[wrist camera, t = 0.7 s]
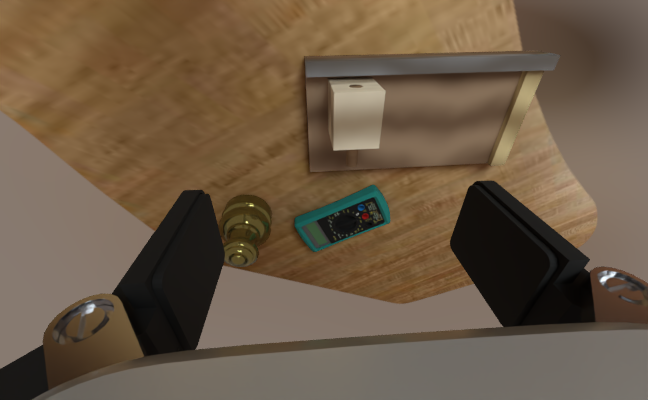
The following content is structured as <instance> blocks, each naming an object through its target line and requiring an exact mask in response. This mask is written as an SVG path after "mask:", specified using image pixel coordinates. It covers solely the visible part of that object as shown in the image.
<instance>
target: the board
mask: <svg viewBox="0 0 648 400" xmlns="http://www.w3.org/2000/svg"><path fill="white" fill-rule="evenodd" d="M304 57H305V78H306V100H307V121H308V143H309V164H310V172H323V171H342V170H362V169H382V168H402V167H421V166H441V165H461V164H481V163H488V164H489V165H490V166H497V165H504V164H505V162H506V159H507V157H508V155H509V152H510V150H511V148H512V145H513V143H514V141H515V138H516V136H517V134H518V131H519V129H520V127H521V124H522V122H523V120H524V117H525V115H526V113H527V110H528V108H529V105H530V103H531V101H532V98H533V96H534V94H535V91H536V89H537V87H538V84H539V82H540V80H541V77H542V75H543V72H544V70H554V69H555V66H556V64H557V62H558V60H559V57H560V55H557V54H552V53H546V52H542V51H506V52H465V53H424V54H384V55H343V56H304ZM363 77H372V78H373V79H374V80H375V81H376V82H377V83H378V84H379V85H380V86H381V87H382V88H383V89H384V90H385V91H386V92H385V101H384V109H383V118H382V127H381V135H380V144H379V148H377V149H358V162H357V166H355V167H348V166H347V165H346V150H334V151H333V147H332V143H331V139H330V135H329V131H328V79H330V78H363Z"/></svg>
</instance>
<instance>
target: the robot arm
mask: <svg viewBox="0 0 648 400" xmlns="http://www.w3.org/2000/svg"><path fill="white" fill-rule="evenodd" d="M450 246H451V249H452V251H453V252H454V254H455V255H456V257H457V258H458V260H459V261H460V263H461V264H462V266H463V267H464V269H465V270H466V272H467V273H468V275H469V276H470V278H471V279H472V281H473V282H474V284H475V285H476V287H477V288H478V290H479V291H480V293H481V294H482V296H483V297H484V299H485V301H486V302H487V303H488V305H489V306H490V308H491V310H492V311H493V313H494V314H495V316H496V317H497V319H498V320H499V322H500V323H501V324H502V326H503V327H498V328H484V329H466V330H452V331H436V332H421V333H406V334H393V335H378V336H364V337H349V338H335V339H322V340H308V341H294V342H281V343H269V344H268V343H267V344H255V345H242V346H232V347H220V348H210V349H199V350H195V349H196V347H197V345H198V342H199V339H200V336H201V333H202V329H203V326H204V323H205V320H206V317H207V314H208V310H209V307H210V304H211V301H212V298H213V294H214V292H215V288H216V285H217V282H218V279H219V276H220V273H221V269H222V266H223V263H224V259H225V251H224V247H223V243H222V239H221V236H220V232H219V228H218V224H217V220H216V217H215V213H214V209H213V205H212V201H211V198H210V195H209V194H205V193H204V192H203V190H185V191H183V192H182V193H181V195H180V196H179V198H178V199H177V201H176V202H175V204H174V205H173V207H172V208H171V209H170V211H169V212H168V214H167V215H166V217H165V218H164V220H163V221H162V223H161V224H160V225H159V227H158V228H157V230H156V231H155V232H154V234H153V235H152V236H151V238H150V239H149V241H148V242H147V244H146V245H145V246H144V248H143V249H142V251H141V252H140V254H139V255H138V257H137V258H136V260H135V261H134V263H133V264H132V265H131V267H130V268H129V270H128V271H127V273H126V274H125V276H124V277H123V278H122V280H121V281H120V283H119V284H118V286H117V287H116V288H115V290H114V292H113V293H112V294H98V295H93V296H89V297H87V298H84V299H82V300H79V301H78V302H76V303H74V304H72V305H70V306H69V307H67V308H66V309H65V310H63V311H62V312H61V313H60V314H58V315H57V316H56V317H55V318H54V320H53V321H52V322H51V323H50V324H49V325H48V327H47V329H46V331H45V332H44V337H43V345H42V346H40V347H38V348H36V349H35V350H33V351H31V352H29V353H28V354H26V355H24V356H23V357H21V358H19V359H17V360H16V361H14V362H12V363H10V364H8V365H7V366H5V367H3V368H1V369H0V400H648V283H647V282H645V281H644V280H642V279H640V278H638V277H636V276H634V275H632V274H630V273H627V272H625V271H623V270H619V269H616V268H612V267H604V266H601V267H596V268H594V269H592V270H591V271H590V272H588V271H586V270H585V269H584V267H585V266H586V264H587V263H588V262H589V260H590V259H589V258H588V257H586V256H585V255H584V254H583V253H582V252H580V251H579V250H578V249H577V248H575V247H574V246H573V245H572V244H571V243H569V242H568V241H567V240H566V239H564V238H563V237H562V236H561V235H560V234H558V233H557V232H556V231H555V230H554V229H552V228H551V227H550V226H549V225H547V224H546V223H545V222H544V221H543V220H541V219H540V218H539V217H538V216H536V215H535V214H534V213H533V212H532V211H530V210H529V209H528V208H527V207H525V206H524V205H523V204H522V203H521V202H519V201H518V200H517V199H516V198H514V197H513V196H512V195H511V194H510V193H508V192H507V191H506V190H505V189H504V188H502V187H501V186H500V185H499V184H497V183H496V182H495V181H476V182H475V183H474V184H473V185H471V186H470V187H469V188H468V191H467V194H466V197H465V199H464V202H463V205H462V208H461V211H460V214H459V217H458V220H457V223H456V226H455V228H454V231H453V234H452V237H451V240H450Z"/></svg>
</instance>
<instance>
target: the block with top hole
mask: <svg viewBox="0 0 648 400" xmlns="http://www.w3.org/2000/svg"><path fill="white" fill-rule="evenodd" d="M385 92H386V91H385V90H384V89H383V88H382V87H381V86H380V85H379V84H378V83H377V82H376V81H375V80H374V79H373V78H372V77H363V78H330V79H328V131H329V135H330V139H331V143H332V147H333V151H334V150H346V165H347V166H348V167H355V166H357V162H358V149H377V148H379V144H380V135H381V127H382V118H383V109H384V101H385Z"/></svg>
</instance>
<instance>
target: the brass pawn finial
mask: <svg viewBox="0 0 648 400" xmlns="http://www.w3.org/2000/svg"><path fill="white" fill-rule="evenodd" d="M271 218H272V211H271V208H270V207H269V205H268V204H267V203H266V202H265V201H264V200H262V199H261V198H259V197H256V196H252V195H240V196H237V197H234V198H233V199H231V200H230V201H229V202H228V203H227V205H226V207H225V210H224V212H223V214H222V218H221V220H220V222H219V232H220V235H221V237H222V238H223V239H224V240H225V241H226V242H225V243H224V244H223V247H224V251H225V259H224V261H225V262H226V263H228V264H230V265H232V266H237V267H244V266H249V265H251V264H253V263H254V262H255V261H256V260H257V258H258V255H259V251H258V248H257V247H258V246H260V245H262V244H263V243H264V242H265V241H266V240H267V239H268V238H269V235H270V231H271V228H270V227H271V222H272V221H271Z"/></svg>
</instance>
